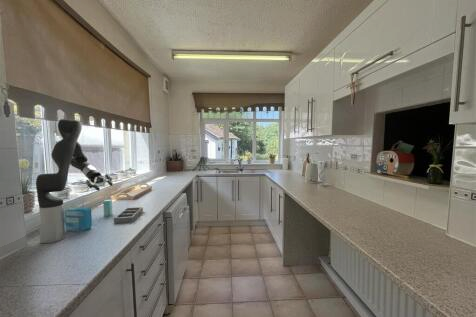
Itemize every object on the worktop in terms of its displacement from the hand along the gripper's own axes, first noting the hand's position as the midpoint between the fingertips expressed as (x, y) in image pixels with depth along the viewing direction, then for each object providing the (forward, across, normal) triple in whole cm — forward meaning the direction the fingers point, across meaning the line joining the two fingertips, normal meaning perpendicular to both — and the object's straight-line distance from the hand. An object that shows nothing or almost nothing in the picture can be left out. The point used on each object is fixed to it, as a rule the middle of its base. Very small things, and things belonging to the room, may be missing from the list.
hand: (105, 187), depth 147 cm
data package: (+17, -24, +7) cm, 31 cm away
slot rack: (+24, +2, +9) cm, 26 cm away
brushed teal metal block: (+9, -2, +17) cm, 20 cm away
